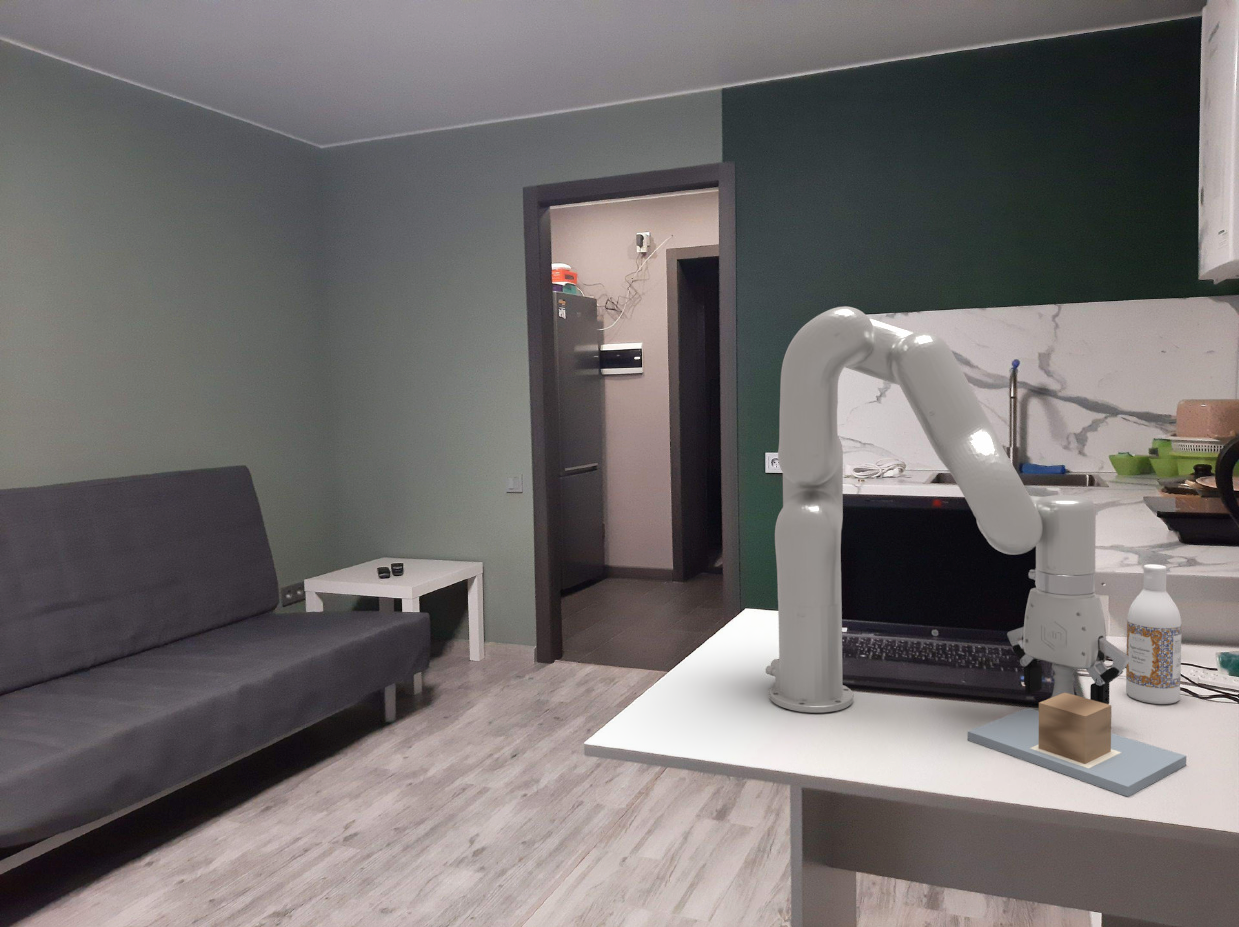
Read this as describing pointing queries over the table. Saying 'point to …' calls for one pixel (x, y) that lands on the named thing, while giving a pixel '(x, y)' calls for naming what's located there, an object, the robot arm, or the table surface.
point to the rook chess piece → (1063, 680)
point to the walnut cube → (1075, 727)
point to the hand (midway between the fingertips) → (1065, 700)
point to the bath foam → (1154, 642)
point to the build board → (1113, 771)
